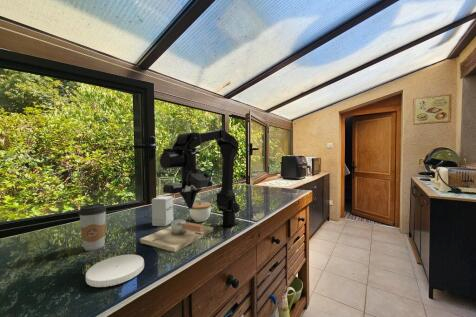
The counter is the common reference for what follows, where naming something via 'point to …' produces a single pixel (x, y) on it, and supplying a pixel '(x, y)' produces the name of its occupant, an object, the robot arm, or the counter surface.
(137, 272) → the plastic lid
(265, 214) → the counter surface
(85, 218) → the coffee cup
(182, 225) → the handle
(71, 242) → the counter surface
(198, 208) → the lidded jar
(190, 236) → the coupling base
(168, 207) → the supplement box
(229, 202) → the robot arm
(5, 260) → the counter surface
